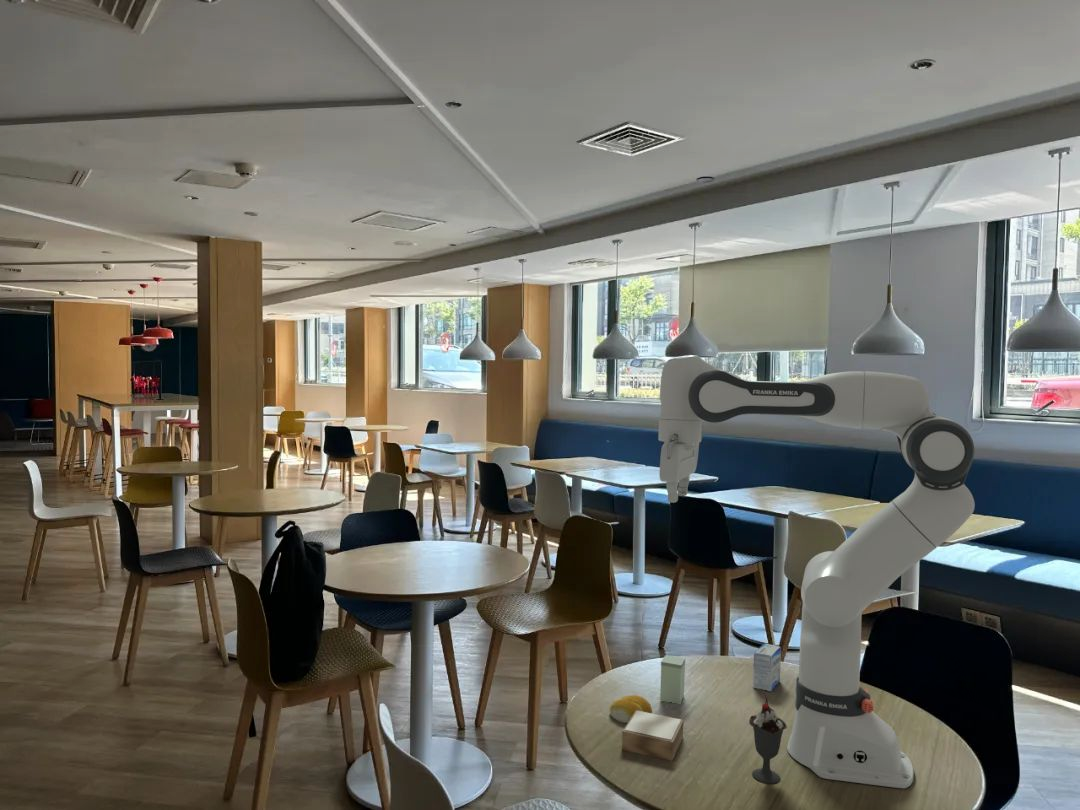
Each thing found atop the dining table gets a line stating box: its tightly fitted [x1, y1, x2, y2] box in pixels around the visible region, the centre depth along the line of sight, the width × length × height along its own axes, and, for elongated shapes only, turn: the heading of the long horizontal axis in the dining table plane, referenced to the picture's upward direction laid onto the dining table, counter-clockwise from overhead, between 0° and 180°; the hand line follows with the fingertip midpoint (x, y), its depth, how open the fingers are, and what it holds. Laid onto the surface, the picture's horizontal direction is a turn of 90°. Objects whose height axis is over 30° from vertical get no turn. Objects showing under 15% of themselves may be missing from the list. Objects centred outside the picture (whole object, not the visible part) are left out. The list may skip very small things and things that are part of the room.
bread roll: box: [609, 694, 653, 724], centre depth 159 cm, size 8×9×4 cm
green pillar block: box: [659, 654, 686, 705], centre depth 167 cm, size 5×5×9 cm
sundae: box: [748, 691, 788, 785], centre depth 135 cm, size 7×7×15 cm
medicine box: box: [752, 643, 782, 692], centre depth 176 cm, size 8×4×9 cm, turn 147°
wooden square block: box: [621, 710, 684, 761], centre depth 147 cm, size 10×10×4 cm
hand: (677, 498), depth 154 cm, fingers open, 8 cm apart
